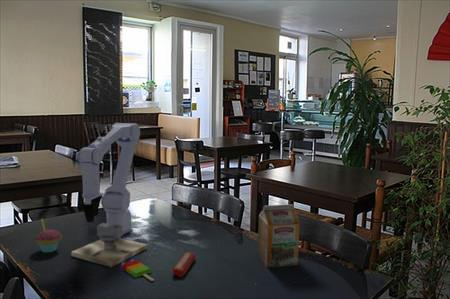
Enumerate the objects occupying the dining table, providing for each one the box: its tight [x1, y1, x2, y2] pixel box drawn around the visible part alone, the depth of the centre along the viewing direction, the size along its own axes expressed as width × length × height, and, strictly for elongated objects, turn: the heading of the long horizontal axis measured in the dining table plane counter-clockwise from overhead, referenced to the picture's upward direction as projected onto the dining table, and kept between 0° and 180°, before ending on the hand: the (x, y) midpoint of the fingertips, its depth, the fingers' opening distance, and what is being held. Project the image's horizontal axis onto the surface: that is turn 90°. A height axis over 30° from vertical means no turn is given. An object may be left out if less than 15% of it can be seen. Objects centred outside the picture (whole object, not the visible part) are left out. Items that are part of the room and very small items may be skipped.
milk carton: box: [257, 204, 300, 268], centre depth 138 cm, size 11×11×19 cm
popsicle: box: [121, 259, 155, 282], centre depth 128 cm, size 6×15×2 cm, turn 41°
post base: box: [71, 237, 148, 268], centre depth 144 cm, size 18×18×4 cm
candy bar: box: [172, 251, 196, 278], centre depth 133 cm, size 16×4×3 cm, turn 169°
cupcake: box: [34, 217, 63, 253], centre depth 145 cm, size 9×8×12 cm
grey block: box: [96, 222, 123, 242], centre depth 144 cm, size 8×6×5 cm
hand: (92, 218), depth 148 cm, fingers open, 7 cm apart
